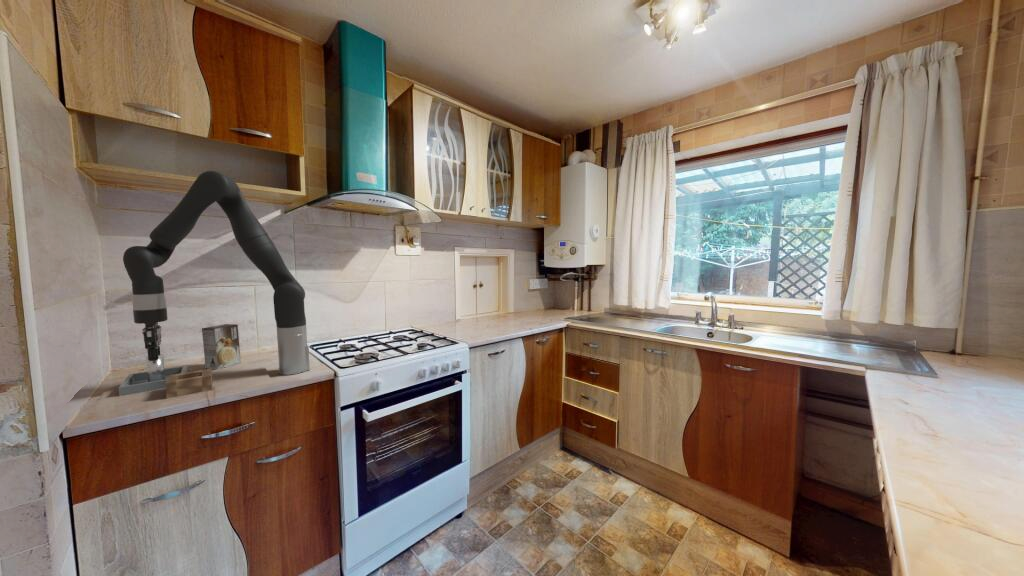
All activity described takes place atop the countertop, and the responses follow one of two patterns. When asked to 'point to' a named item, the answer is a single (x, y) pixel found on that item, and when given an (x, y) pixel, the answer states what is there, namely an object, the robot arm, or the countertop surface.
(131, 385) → the tray
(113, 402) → the countertop surface
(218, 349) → the coffee box
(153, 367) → the pin
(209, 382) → the pin block
